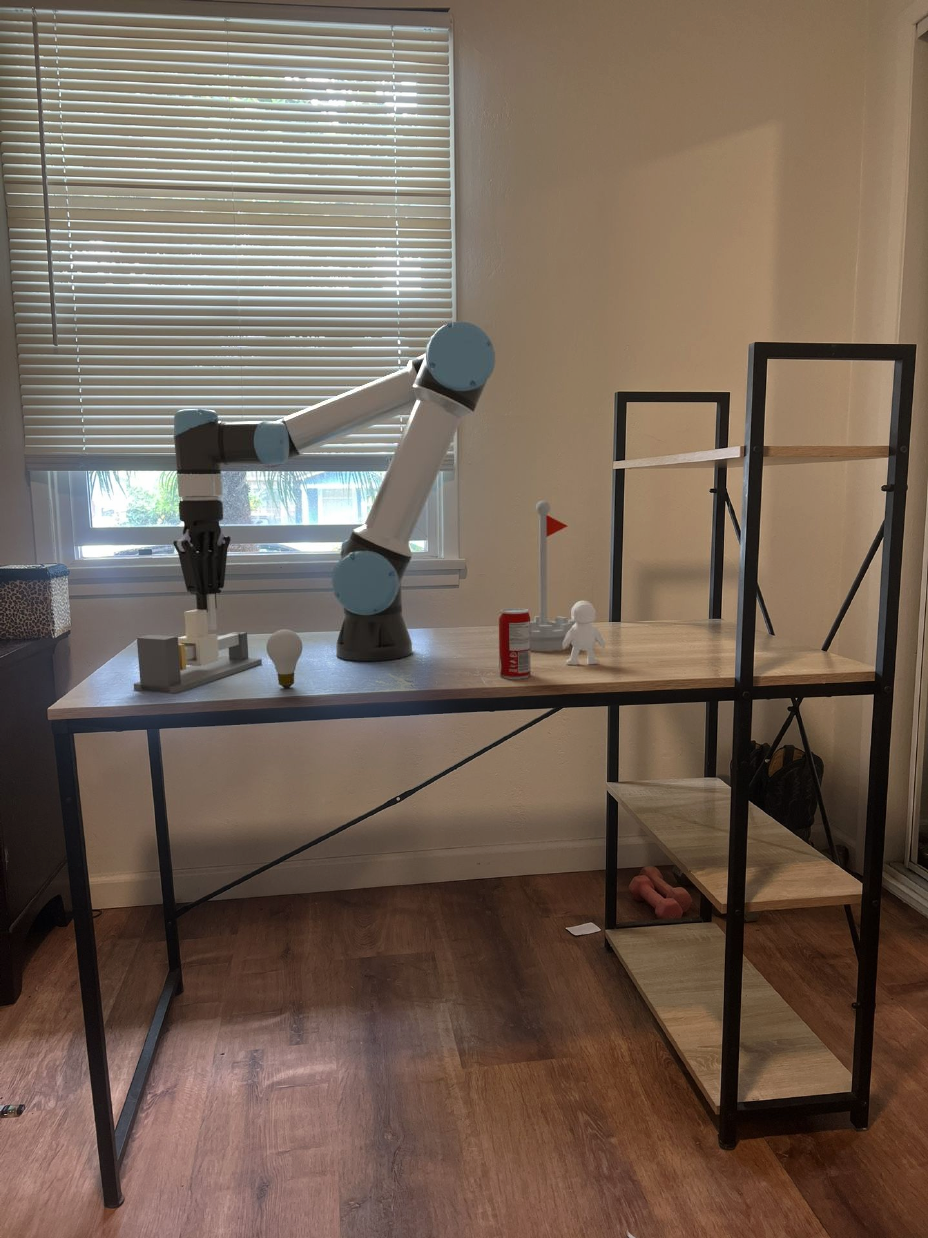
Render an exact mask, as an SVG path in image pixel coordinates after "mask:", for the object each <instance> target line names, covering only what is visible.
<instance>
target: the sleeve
mask: <svg viewBox="0 0 928 1238" xmlns="http://www.w3.org/2000/svg"><path fill="white" fill-rule="evenodd" d="M183 613H184V624H185V625H184V627H185V635H184V636H180V637H178V644H185V646H186V645H190V644H196V657H195V658H192V659H188V660H186V666H203V665H206V664H209V663H212V662H216V661H219V657H220V656H219V651H218V639H217V637H218V634H216V633H215V634H213V633H212V634H211V633H209V630H208V625H207V610H198V609H197V608H196V609H191V610H187V611H184V612H183Z"/></svg>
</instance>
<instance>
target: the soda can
mask: <svg viewBox="0 0 928 1238" xmlns="http://www.w3.org/2000/svg"><path fill="white" fill-rule="evenodd" d="M529 612H530V611H529V609H526V608H521V607H515V608H514V607H513V608H510V607H509V608H502V609H500V613H499V618H498V652H499V653H498V654H499V655H498V657H499V659H498V660H499V661H498V664H499V666H498V670H499V675H500V676H501V677H502V678H504V679H508V680H522V679H521V678H523V679H527V678H528V677H529V676H530V675H531V651H530V622H531V616H530V613H529Z"/></svg>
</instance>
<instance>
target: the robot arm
mask: <svg viewBox="0 0 928 1238" xmlns="http://www.w3.org/2000/svg"><path fill="white" fill-rule="evenodd" d="M495 365H496V352H495V349H494V345H493V343H492V340H491V338H490V337H489V336H488V334H487V333H486V332H485V331H484V330H483V329H482V328H481V327H479V326H477V325H476V324H474V323H471V322H469V321H468V322H467V321H462V320H461V321H458V320H457V321H452V322H449V323H446V324H444V325H443V326H441V327H439V328H438V329H437V330H436V331H435V332H434V333H433V334H432V335H431V336H430V338H429V340H428V342H427V344H426V350H425V353H424V354H422V355H420V356H417V357H415V358H413V359H410V360H409V361H408V363H407V365H406V367H405V368H403V369H401V370H398V371H396V372H394V373H391V374H389V375H386V376H384V377H382V378H379V379H376V380H374V381H372V382H368V383H366V384H364V385H362V386H359V387H357V388H354V389H351V390H349V391H347V392H345V393H342V394H339V395H337V396H335V397H332V398H330V399H327V400H324V401H322V402H320V403H317V404H314V405H312V406H310V407H307V408H304V409H303V410H300V411H298V412H294V413H292V414H289V415H287V416H285V417H283V418H281V419H278V420H276V421H271V420H261V421H259V420H258V421H256V420H255V421H254V420H253V421H221V420H220V419H219V416H218V413H217V411H215V410H211V409H196V408H195V409H194V408H193V409H191V408H190V409H180V410H178V411H176V412H175V414H174V415H173V418H174V419H173V427H174V429H173V431H174V432H173V441H174V451H175V452H174V453H175V463H176V475H177V476H176V477H177V491H178V492H177V493H178V498H181V500H179V502H178V516H179V520H180V522H182V523H183V525H184V526H183V530H182V536H181V538H179V539H174V540H173V543H172V545H173V546H174V547H173V548H175V550H176V552H177V554H178V559H179V563H180V567H181V571H182V575H183V580H184V584H185V589H186V591H187V593H190V594H191V595H195V598H196V609H198V610H207V625H208V631H214V630H217V629H218V627H217V625H218V624H217V609H218V608H217V606H218V605H217V594H220V593H222V589H223V588H224V587H225V577H226V569H227V568H226V566H227V559H228V558H227V557H228V549H229V546H230V543H231V536H230V535H224V534H223V533H222V528H221V526H220V521H222V520H224V505H223V501H222V500H221V499H220V498H221V497H222V496H223V483H222V472H221V466H222V465H224V466H229V465H231V466H232V465H235V466H236V465H241V466H245V465H246V466H247V465H248V466H251V465H252V466H254V465H255V466H262V467H265V468H276V467H280V466H281V465H283V464H285V463H287V462H288V461H289V460H292V459H294V458H296V457H299V456H301V455H303V454H305V453H308V452H311V451H313V450H315V449H318V448H321V447H324V446H326V445H328V444H330V443H333V442H336V441H338V440H340V439H342V438H345V437H348V436H350V435H353V434H355V433H358V432H361V431H363V430H365V429H368V428H371V427H373V426H375V425H377V424H380V423H383V422H385V421H387V420H391V419H393V418H395V417H398V416H400V415H403V414H405V413H408V412H410V411H411V413H410V414H409V418H408V419H407V421H406V425H405V426H404V429H403V431H402V434H401V436H400V439H399V441H398V443H397V446H396V449H395V450H394V453H393V456H392V457H391V460H390V463H389V465H388V468H387V470H386V472H385V475H384V476H383V480H382V482H381V484H380V487H379V489H378V491H377V494H376V496H375V499H374V501H373V504H372V505H371V508H370V510H369V512H368V515H367V518H366V519H365V522H364V524H363V525H361V526H358V527H356V528H354V529H353V530H352V531H351V534H350V536H349V539H346V540H344V541H342V544H341V548H340V549H341V550H340V557H341V558H340V560H339V561H338V562H337V563H336V565H335V567H334V569H333V571H332V576H331V579H332V580H331V585H332V591H333V594H334V597H335V599H336V600H337V601H338V602H339V604H340V605H341V606H342V607H343V620H342V623H341V627H340V629H339V630H340V631H339V635H338V638H337V641H336V645H335V646H336V656H337V657H338V658H340V659H342V660H348V661H358V662H359V661H360V662H364V661H365V662H373V661H374V662H375V661H389V660H395V659H397V660H398V659H400V658H405V657H408V656H410V655H411V654H412V653H413V642H412V639H411V636H410V632H409V630H408V627H407V625H406V623H405V622H406V621H405V618H404V616H403V598H402V597H403V591H402V581H403V578H404V576H405V574H406V571H407V569H408V566H409V564H410V562H411V560H412V557H413V552H412V550H411V548H410V545H409V542H410V540H411V538H412V535H413V533H414V531H415V528H416V527H417V524H418V522H419V519H420V517H421V515H422V513H423V511H424V508H425V506H426V503H427V501H428V498H429V496H430V494H431V492H432V489H433V486H434V484H435V481H436V479H437V476H438V474H439V473H440V470H441V468H442V465H443V462H444V460H445V459H446V455H447V454H448V451H449V449H450V446H451V444H452V442H453V440H454V437H455V435H456V432H457V429H458V427H459V425H460V422H461V420H463V419H465V418H467V417H471V416H473V414H474V412H475V410H476V408H477V405H478V402H479V400H480V398H481V396H482V393H483V391H484V388H485V386H486V384H487V382H488V380H489V378H491V376H492V374H493V372H494V369H495Z"/></svg>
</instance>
